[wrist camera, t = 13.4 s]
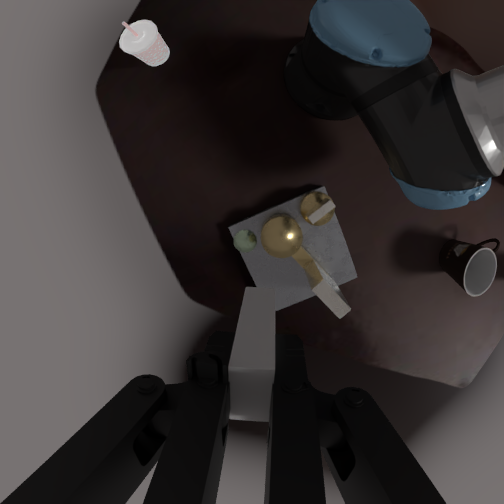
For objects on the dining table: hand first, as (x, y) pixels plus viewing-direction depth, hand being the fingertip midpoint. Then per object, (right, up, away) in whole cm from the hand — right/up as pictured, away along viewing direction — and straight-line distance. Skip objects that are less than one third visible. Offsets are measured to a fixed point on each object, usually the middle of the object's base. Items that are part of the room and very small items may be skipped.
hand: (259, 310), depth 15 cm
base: (+7, +3, +32) cm, 33 cm away
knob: (+7, +3, +29) cm, 30 cm away
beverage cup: (-17, +37, +24) cm, 47 cm away
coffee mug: (+40, +3, +31) cm, 50 cm away
